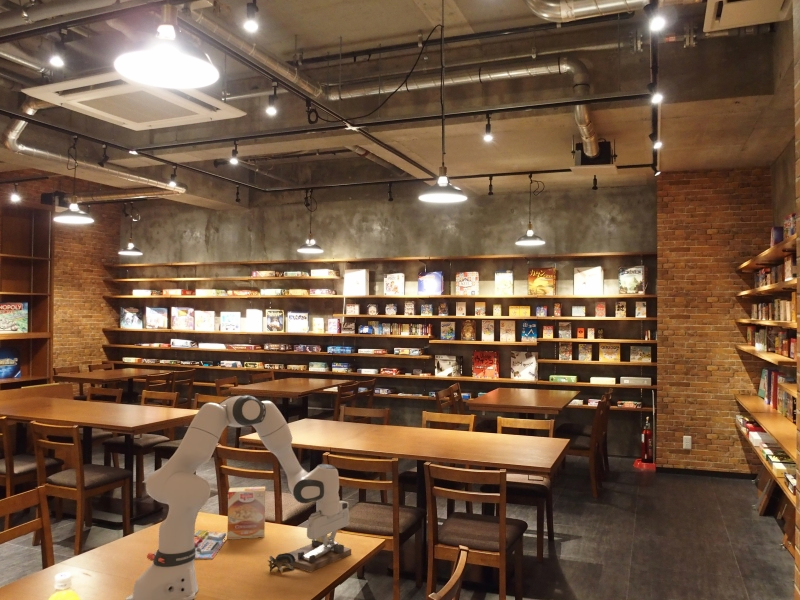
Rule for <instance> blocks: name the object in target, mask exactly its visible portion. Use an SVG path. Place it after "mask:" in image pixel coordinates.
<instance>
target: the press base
mask: <svg viewBox="0 0 800 600" xmlns="http://www.w3.org/2000/svg"><path fill="white" fill-rule="evenodd" d="M321 545H323V543H322V542H319V541H315V540H312V539H311V543H310V544H307V545H305V546H303V547H300V548H297V549H295V550H292V551H290V552H288V553H289V554H291V555H293V556H294V557H295V559H296V560H295V562H294V563H292V564H289V565H290V566H291V567H294V568H297V567H298V568H297V569H300V568H301V570H303V571H306V572H309V573H311V572H314V571H316V570H318V569H320V568H322V567H325V566H327V565H330V564H332V563H335V562H337V561H339V560H341V559H344V558H346V557H348V556H350V555H352V548H350V547H346V546H345V545H344V544H340V543H338V545H336V546H334V548H333V549H332V550H330V551H328V552H326V553H325V554H323V555H321V556H319V557H318V558H316V559H315V555H311V556H309V561H306V560H303V559H302V556H303V555H305V554H307V553H309V552H310V551H312V550H314V549H316V548H318V547H319V546H321Z"/></svg>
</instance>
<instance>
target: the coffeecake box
mask: <svg viewBox="0 0 800 600" xmlns="http://www.w3.org/2000/svg"><path fill="white" fill-rule="evenodd" d="M227 498H228V499H227V539H232V540H242V539H241V538H249V539H259V538H258V537H264V538H265V532H266V530H265V529H266V527H265V526H266V486H249V487H248V486H246V487H245V486H243V487H242V486H240V487H239V486H238V487H229V489H228V496H227Z"/></svg>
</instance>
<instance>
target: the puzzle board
mask: <svg viewBox="0 0 800 600" xmlns="http://www.w3.org/2000/svg"><path fill="white" fill-rule="evenodd" d="M213 532H215V533H213ZM217 532H218V531H209V530H208V529H206V530H205V529H204V530H201V529H200V530H199V529H198V530H195V534H194V545H195V559H211V560H214V558H215V555H216V556H217V555H218V553H219V551H220V550H221V549H222V547H223V546H224V544H225V543H224V542H223V539H224V538H225V536H226V533H217ZM224 540H225V539H224ZM223 543H224V544H223ZM222 545H223V546H222ZM221 546H222V547H221ZM219 549H220V550H219ZM217 552H218V553H217ZM153 554H155V555H156V552H154V553H153Z"/></svg>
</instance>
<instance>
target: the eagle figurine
mask: <svg viewBox="0 0 800 600" xmlns="http://www.w3.org/2000/svg"><path fill="white" fill-rule="evenodd" d="M295 560H296V559H295V557H294V556H293V555H291V554H289V552H285V553H280V554H277V555H276V557H274V556H273V555H270V556H269V560H267V562H269V563H268V566H269V572H270V573H271V572H272V571H273V569H275V568H277V569H278V570H279V572H280V574H282V573H283V568H282V567H285V568H288V569H290V570H293V571H295V569H294V568H295V567H294V566H291V565H289V564H292V563H294V562H295Z"/></svg>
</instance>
